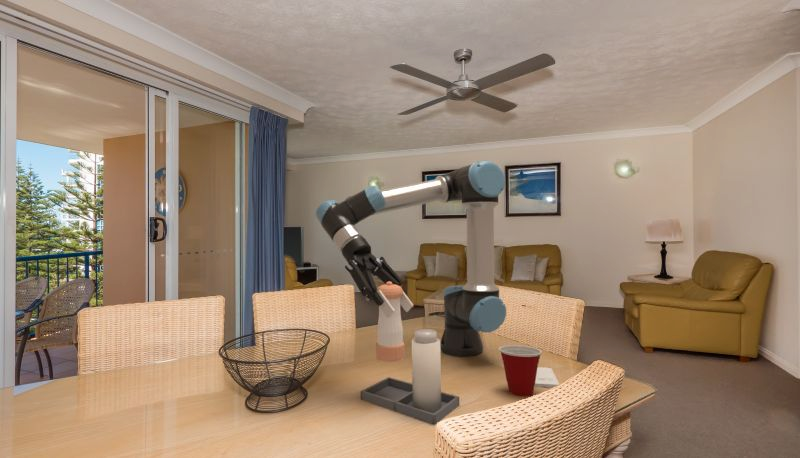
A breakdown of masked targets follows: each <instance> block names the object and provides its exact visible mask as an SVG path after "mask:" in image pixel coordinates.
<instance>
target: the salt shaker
mask: <svg viewBox="0 0 800 458" xmlns="http://www.w3.org/2000/svg"><path fill="white" fill-rule="evenodd" d="M440 342H441V339H440V338H439V337H438V332H437V330H435V329H429V328H423V329H422V328H420V329H417V330H415V331H414V338H412V339H411V374H412V375H411V376H412V378H411V379H412V380H411V383H412V389H413V407H415V408H418V409H421V410H424V411H427V412H430V413H433V414H434V413H435V412H437V411H438V410H439V409H441V408H442V405H441V392H442V366H441V363H442V361H441V359H442V358H441V356H442V355H441V354H442V351H441V350H440Z"/></svg>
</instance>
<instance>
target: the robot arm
mask: <svg viewBox="0 0 800 458" xmlns="http://www.w3.org/2000/svg"><path fill="white" fill-rule="evenodd" d="M505 186H506V177H505V173H504V171H503V169H502V168H501V167H500V166H499V165H498V164H497V163H495V162H493V161H490V160H483V161H476V162H474V163H472V164H469V165H466V166H463V167H460V168H457V169H455V170H453V171H451V172H448V173H445V174H440V175H437V176H436V177H435V178H434V179H430V180H425V181H421V182H415V183H410V184H405V185H400V186H396V187H390V188H385V189H380V188H379V187H378V186H376V185H371V186H369V187H367V188H364V189H363V190H361V191H360V192H357V193H356V194H353V195H351V196H347V197H346V198H345V199H344V200H343V201H340V203H339V202H338V201H337V200H335V199H329V200H325V201H323V202H322V203H320V204H319V205H318V207H317V208H316V211H315V217H316V218H317V220H318V222H319V223H320V225H321V227H322V228H323V230H324V231H325V232H326V234H327V235H328V236H329V238H330V239H331V240H332V242H333V243H334V244H335V246H336V248H337V249H338V250H339V252H340V253H341V254H342V256H343V258H344V259H345V260H346V262H347V263H346V264H345V265H344V268H345V270H346V271H347V272H348V273H349V274H350V276H351V278H352V279H353V282H354V284H355V285H356V286H357V288H358V291H359V292H360V293H361V296H363V297H365V296H366V299H368V300H370V299H372V300H373V302H374V303H375V304H376V305H377V306H378V308H379V307H380V308H381V310H382V311H383V313H384V314H385V316H386V317H387V318H389V317H390V316H391V315H392V314H393V313H394V311H395V309H394V308H393V307H392V305H391V304H390V303H389V301H388V300H387V298H386V297H385V296H384V294H383V293H382V291H381V290H378V291H377V288H378V287H377V285H376V283H375V280H374V277H377V279H379V280H380V281H381V282H382V283H383V284H384V285H385V284H386V283H387V282H388V281H390V282H392V284H395V285H398V286H400V287H401V288H402V284H403V283H404V281H403V280H402V279H401V278H400V276H399V275H398V274H397V273H396V271H394V270H393V268H392V267H391V266H390V264H388V262H387V261H386V259H385V258H384V256H380V257H379V258H378V257H376V256H375V255H373V254H372V246H371V245H370V244H369V242H368V241H367V239H366V238H364V235H363V234H362V233H361V232H360V230H359V229H358V227H357V226H356V225H357V224H359V223H360V222H361V221H364V220H366V219H367V218H369V217H371V216H375V215H378V214H383V213H388V212H392V211H398V210H403V209H406V208H411V207H416V206H421V205H425V204H430V203H434V202H439V201H440V203H443V204H445V203H448V202H457V201H461V205H462V207H464V208H465V209H466V262H467V263H466V279H467V280H466V281H467V282H466V283H465V284H464V285H463V284H461V285H449V286H446V287H445V288H444V290H443V291H444V292H443V305H444V306H443V307H444V309H443V310H444V329H443V332H442V336H441V339H440V352H441V353H444V354H446V355H450V356H455V357H473V356H478V355H480V354H482V353H483V352H484V343H483V341H482V337H481V334H480V332H482V333H492V332H495V331H497V330H498V329H500V327H501V326H502V325H503V324H504V322H505V320H506V317H507V307H506V304H505V303H504V302H503V299H501V298H500V288H499V287H498V286H497V285H496V283H495V237H494V236H495V230H494V229H495V224H494V223H495V222H494V221H495V219H494V217H495V216H494V211H495V210H494V209H495V208H496V207H497V206H498V205H499V195H500V194H501V193H502V192H503V190H504V189H505ZM400 307H402V308H403V310H404V311H405V312H406V313H408V312H409V311H410V310H411V309H412V308H413V307H414V303H413V302H412V300H410V298H409V297H408V295H407V293H406V292H405V291H404V290H403V295H402V297H400Z"/></svg>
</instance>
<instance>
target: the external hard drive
mask: <svg viewBox="0 0 800 458" xmlns="http://www.w3.org/2000/svg"><path fill="white" fill-rule="evenodd" d="M559 384H560V382H559V380H558V379H557V376H556V374H555V372H554V371H553V369H552V368H551V367H544V366H543V367H542V366H541V367H540V366H538V368H537V374H536V381H535V384H534V388H547V389H548V388H549V389H553V388H552V387H555V386H557V385H559Z"/></svg>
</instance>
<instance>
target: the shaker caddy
mask: <svg viewBox="0 0 800 458" xmlns="http://www.w3.org/2000/svg"><path fill="white" fill-rule="evenodd" d="M360 400H362V401H364V402H367V403H371V404H374V405H376V406H379V407H382V408H385V409H388V410H391V411H393V412H397V413H399V414H402V415H405V416H407V417H411V418H414V419H415V420H416V419H417V420H419V421H421V422H425V423H428V424H431V425H433V426H434V425H437V424H438V423H439V422H440V421H442V420H443V419H444V418H445V417H447V416H448V415H449V414H451V413H452V412H453V411H454V410H455V409H457V408H459V406H460V396H457V395H454V394H452V393H447V392H443V391H441V405H442V408H441V409H439V410H438V411H437V412H435V413H434V414H433V413H430V412H427V411H424V410H421V409H418V408H415V407H413V389H412V382H407V381H404V380H401V379H397V378H393V377H390V376H388V377H386V378H384V379H382V380H380V381H378V382H375V383H373V384H372V385H370V386H368V387H366V388H363V389H362V390H360ZM437 422H438V423H437Z"/></svg>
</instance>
